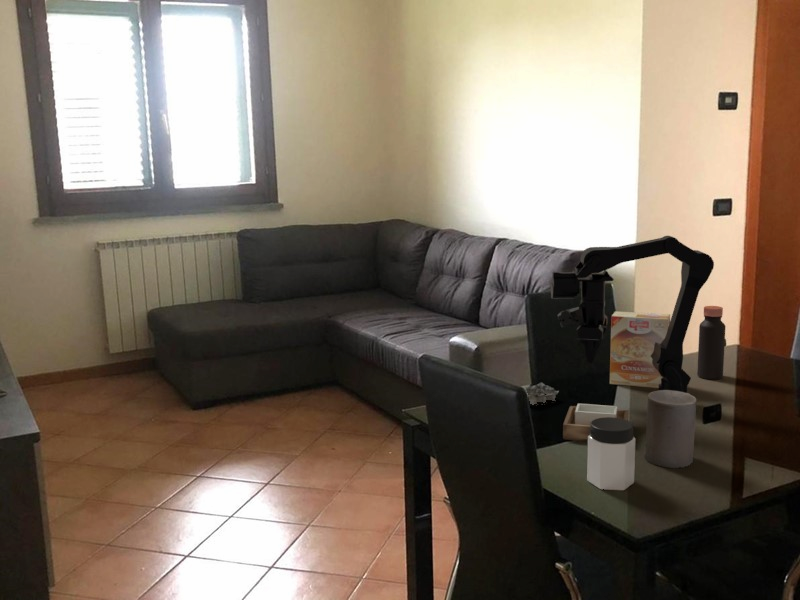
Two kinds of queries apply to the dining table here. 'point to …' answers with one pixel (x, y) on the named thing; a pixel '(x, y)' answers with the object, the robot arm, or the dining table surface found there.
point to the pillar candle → (670, 428)
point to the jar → (611, 454)
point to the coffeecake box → (636, 347)
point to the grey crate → (593, 413)
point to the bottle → (711, 344)
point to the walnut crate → (582, 431)
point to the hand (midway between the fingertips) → (591, 358)
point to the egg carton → (541, 393)
